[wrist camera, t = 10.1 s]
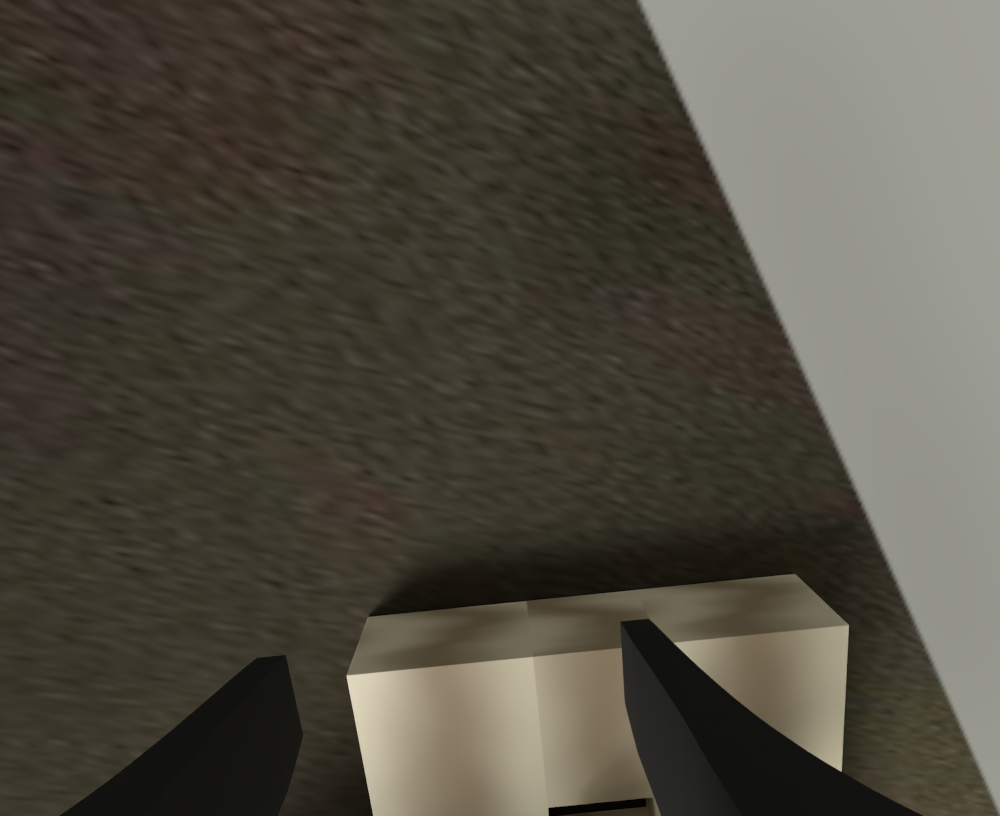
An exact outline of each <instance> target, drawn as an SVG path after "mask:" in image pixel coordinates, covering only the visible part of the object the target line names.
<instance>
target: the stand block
mask: <svg viewBox="0 0 1000 816" xmlns="http://www.w3.org/2000/svg"><path fill="white" fill-rule="evenodd" d="M640 619H650V620H651V621H652V622H653V623H654V624H655V625H656V626H657V627H658V628H659V629H660V630H661V631H662V632H663V633H664V634H665V635H666V636H667V637H668V638H669V639H670V640H671V641H672V642H673V643H674V644H675V645H676V646H677V647H678V648H679V649H680V650H682V651H683V652H684V653H685V654H686V655H687V656H688V657H689V658H690V659H691V660H692V661H693V662H694V663H695V664H696V665H697V666H698V667H700V668H701V669H702V670H703V671H704V672H705V673H706V674H707V675H709V676H710V677H711V678H712V679H713V680H714V681H715V682H716V683H717V684H719V685H720V686H721V687H722V688H723V689H724V690H726V691H727V692H728V693H729V694H730V695H732V696H733V697H734V698H735V699H736V700H738V701H739V702H740V703H741V704H743V705H744V706H745V707H746V708H748V709H749V710H750V711H751V712H753V713H754V714H755V715H756V716H758V717H759V718H760V719H762V720H763V721H765V722H766V723H767V724H769V725H770V726H771V727H773V728H774V729H776V730H777V731H779V732H780V733H782V734H783V735H784V736H786V737H787V738H789V739H790V740H792V741H793V742H795V743H796V744H798V745H799V746H800V747H802V748H803V749H805V750H807V751H808V752H810V753H811V754H813V755H814V756H816V757H818V758H819V759H821V760H822V761H824V762H826V763H827V764H829V765H831V766H832V767H834V768H836V769H837V770H839V771H841V772H842V753H843V733H844V713H845V694H846V674H847V654H848V634H849V625H848V624H847V623H846V622H845V621H844V620H843V619H842V618H841V617H840V616H839V615H838V614H837V613H836V612H835V611H834V610H832V609H831V608H830V607H829V606H828V605H827V604H826V603H825V602H824V601H823V600H822V599H821V598H820V597H819V596H818V595H817V594H816V593H815V592H814V591H813V590H811V589H810V588H809V587H808V586H807V585H806V584H805V583H804V582H803V581H802V580H801V579H800V578H799V577H798V576H797V575H796V574H789V575H779V576H769V577H759V578H749V579H739V580H729V581H719V582H709V583H700V584H690V585H680V586H670V587H660V588H650V589H640V590H630V591H620V592H610V593H600V594H590V595H581V596H571V597H561V598H551V599H541V600H531V601H521V602H511V603H501V604H491V605H481V606H471V607H462V608H452V609H442V610H432V611H422V612H412V613H402V614H392V615H382V616H372V617H368V618H367V621H366V623H365V626H364V629H363V632H362V634H361V637H360V640H359V643H358V645H357V648H356V651H355V654H354V656H353V659H352V662H351V665H350V667H349V670H348V673H347V675H346V676H347V681H348V686H349V692H350V697H351V702H352V707H353V712H354V718H355V723H356V728H357V733H358V739H359V744H360V749H361V754H362V760H363V765H364V770H365V775H366V781H367V786H368V791H369V796H370V802H371V807H372V812H373V816H549V812H548V808H551V807H561V806H571V805H581V804H591V803H601V802H611V801H621V800H632V799H642V798H646V807H638V808H628V809H618V810H608V811H598V812H588V813H578V814H567V815H557V816H661V814H660V811H659V808H658V806H657V803H656V800H655V798H654V795H653V792H652V790H651V787H650V784H649V782H648V779H647V776H646V774H645V771H644V768H643V766H642V763H641V760H640V758H639V755H638V752H637V748H636V744H635V741H634V737H633V733H632V729H631V725H630V722H629V718H628V714H627V710H626V706H625V698H624V681H623V663H622V646H621V628H620V621H630V620H640Z"/></svg>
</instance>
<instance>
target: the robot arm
mask: <svg viewBox="0 0 1000 816" xmlns="http://www.w3.org/2000/svg"><path fill="white" fill-rule="evenodd" d="M620 628H621V646H622V663H623V681H624V698H625V706H626V710H627V714H628V718H629V722H630V725H631V729H632V733H633V737H634V741H635V744H636V748H637V752H638V755H639V758H640V760H641V763H642V766H643V768H644V771H645V774H646V776H647V779H648V782H649V784H650V787H651V790H652V792H653V795H654V798H655V800H656V803H657V806H658V808H659V811H660V814H661V816H922V815H920V814H918V813H916V812H914V811H912V810H910V809H908V808H906V807H904V806H902V805H900V804H898V803H896V802H894V801H892V800H891V799H889V798H887V797H885V796H883V795H881V794H880V793H878V792H876V791H874V790H872V789H870V788H868V787H867V786H865V785H863V784H861V783H860V782H858V781H856V780H854V779H853V778H851V777H849V776H848V775H846V774H844V773H843V772H841V771H839V770H837V769H836V768H834V767H832V766H831V765H829V764H827V763H826V762H824V761H822V760H821V759H819V758H818V757H816V756H814V755H813V754H811V753H810V752H808V751H807V750H805V749H803V748H802V747H800V746H799V745H798V744H796V743H795V742H793V741H792V740H790V739H789V738H787V737H786V736H784V735H783V734H782V733H780V732H779V731H777V730H776V729H774V728H773V727H771V726H770V725H769V724H767V723H766V722H765V721H763V720H762V719H760V718H759V717H758V716H756V715H755V714H754V713H753V712H751V711H750V710H749V709H748V708H746V707H745V706H744V705H743V704H741V703H740V702H739V701H738V700H736V699H735V698H734V697H733V696H732V695H730V694H729V693H728V692H727V691H726V690H724V689H723V688H722V687H721V686H720V685H719V684H717V683H716V682H715V681H714V680H713V679H712V678H711V677H710V676H709V675H707V674H706V673H705V672H704V671H703V670H702V669H701V668H700V667H698V666H697V665H696V664H695V663H694V662H693V661H692V660H691V659H690V658H689V657H688V656H687V655H686V654H685V653H684V652H683V651H682V650H680V649H679V648H678V647H677V646H676V645H675V644H674V643H673V642H672V641H671V640H670V639H669V638H668V637H667V636H666V635H665V634H664V633H663V632H662V631H661V630H660V629H659V628H658V627H657V626H656V625H655V624H654V623H653V622H652V621H651V620H650V619H640V620H630V621H620ZM302 737H303V733H302V728H301V724H300V719H299V715H298V710H297V705H296V701H295V696H294V692H293V687H292V682H291V678H290V673H289V669H288V664H287V660H286V655H282V656H272V657H262V658H257V659H255V660H254V661H253V662H252V663H250V664H249V665H248V666H246V667H245V668H244V669H243V670H242V671H240V672H239V673H238V674H237V675H236V676H235V677H233V678H232V679H231V680H230V681H229V682H228V683H226V684H225V685H224V686H223V687H222V688H221V689H219V690H218V691H217V692H216V693H215V694H214V695H213V696H211V697H210V698H209V699H208V700H207V701H206V702H204V703H203V704H202V705H201V706H200V707H199V708H197V709H196V710H195V711H194V712H193V713H192V714H190V715H189V716H188V717H187V718H186V719H185V720H183V721H182V722H181V723H180V724H179V725H178V726H176V727H175V728H174V729H173V730H172V731H171V732H169V733H168V734H167V735H166V736H164V737H163V738H162V739H161V740H159V741H158V742H157V743H156V744H154V745H153V746H152V747H151V748H149V749H148V750H147V751H146V752H144V753H143V754H142V755H141V756H139V757H138V758H137V759H136V760H134V761H133V762H132V763H131V764H129V765H128V766H127V767H126V768H125V769H123V770H122V771H121V772H119V773H118V774H117V775H116V776H114V777H113V778H112V779H110V780H109V781H108V782H106V783H105V784H104V785H102V786H101V787H99V788H98V789H97V790H95V791H94V792H93V793H91V794H90V795H89V796H87V797H86V798H84V799H83V800H81V801H80V802H79V803H77V804H76V805H74V806H73V807H71V808H70V809H69V810H67V811H66V812H64V813H63V814H62V815H60V816H278V813H279V811H280V808H281V806H282V803H283V801H284V798H285V795H286V793H287V790H288V788H289V784H290V781H291V778H292V774H293V771H294V767H295V764H296V760H297V756H298V752H299V749H300V745H301V741H302Z"/></svg>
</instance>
